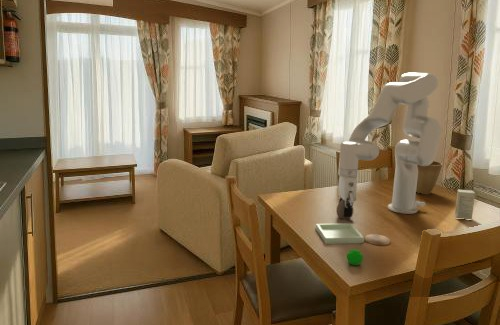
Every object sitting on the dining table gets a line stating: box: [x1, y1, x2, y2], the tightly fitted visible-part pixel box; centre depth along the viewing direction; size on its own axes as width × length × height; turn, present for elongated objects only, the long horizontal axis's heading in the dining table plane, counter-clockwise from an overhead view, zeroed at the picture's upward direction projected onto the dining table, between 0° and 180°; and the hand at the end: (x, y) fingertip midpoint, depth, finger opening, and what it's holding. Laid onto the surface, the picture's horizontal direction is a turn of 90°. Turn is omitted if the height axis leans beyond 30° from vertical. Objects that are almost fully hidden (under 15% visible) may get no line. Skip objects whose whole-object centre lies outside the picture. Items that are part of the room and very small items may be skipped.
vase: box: [336, 199, 355, 221], centre depth 172 cm, size 7×7×9 cm
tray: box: [315, 222, 365, 245], centre depth 154 cm, size 14×14×2 cm
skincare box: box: [454, 189, 476, 220], centre depth 174 cm, size 6×4×12 cm
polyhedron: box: [346, 248, 364, 266], centre depth 131 cm, size 5×5×5 cm
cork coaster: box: [364, 233, 391, 247], centre depth 151 cm, size 9×9×1 cm
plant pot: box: [416, 160, 443, 195], centre depth 211 cm, size 15×15×16 cm
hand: (344, 213), depth 172 cm, fingers closed on vase, 6 cm apart
